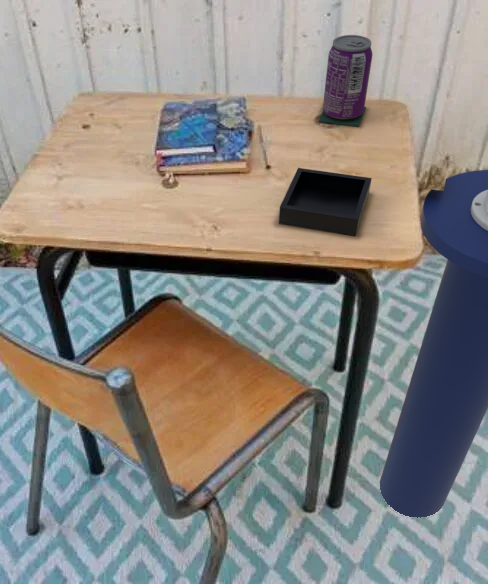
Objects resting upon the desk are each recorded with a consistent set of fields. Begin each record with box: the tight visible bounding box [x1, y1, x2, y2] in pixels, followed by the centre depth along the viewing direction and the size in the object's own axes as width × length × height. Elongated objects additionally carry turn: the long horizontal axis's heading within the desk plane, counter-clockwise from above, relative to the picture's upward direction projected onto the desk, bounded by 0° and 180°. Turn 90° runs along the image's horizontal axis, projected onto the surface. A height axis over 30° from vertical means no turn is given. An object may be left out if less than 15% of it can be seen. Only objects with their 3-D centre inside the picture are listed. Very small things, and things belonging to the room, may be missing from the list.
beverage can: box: [322, 34, 373, 120], centre depth 109 cm, size 7×7×12 cm
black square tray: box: [278, 167, 373, 237], centre depth 94 cm, size 11×11×3 cm
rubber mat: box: [318, 106, 367, 128], centre depth 114 cm, size 7×7×1 cm
